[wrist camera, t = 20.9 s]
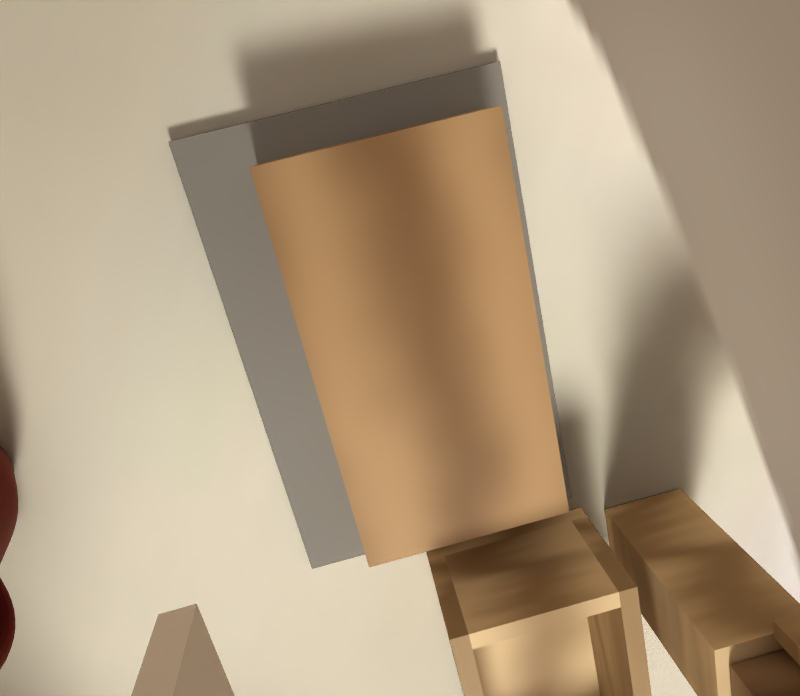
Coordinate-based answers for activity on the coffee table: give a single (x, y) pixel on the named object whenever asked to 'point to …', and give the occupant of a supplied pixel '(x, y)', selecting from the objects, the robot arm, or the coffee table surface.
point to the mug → (3, 517)
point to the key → (766, 676)
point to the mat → (264, 287)
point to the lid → (420, 329)
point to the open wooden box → (608, 603)
